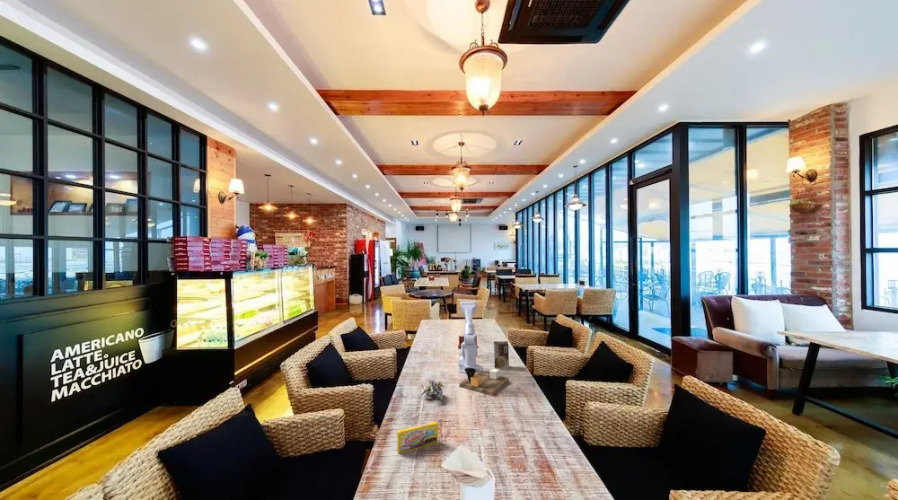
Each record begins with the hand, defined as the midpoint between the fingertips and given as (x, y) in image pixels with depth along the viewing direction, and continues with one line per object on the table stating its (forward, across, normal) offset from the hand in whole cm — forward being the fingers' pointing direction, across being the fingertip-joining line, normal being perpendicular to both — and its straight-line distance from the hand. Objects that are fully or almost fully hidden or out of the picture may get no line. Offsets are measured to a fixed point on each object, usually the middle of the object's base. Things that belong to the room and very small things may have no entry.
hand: (470, 381), depth 179 cm
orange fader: (+1, +4, 0) cm, 4 cm away
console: (+3, +4, +8) cm, 9 cm away
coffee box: (+3, +1, +35) cm, 35 cm away
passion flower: (+4, -9, -22) cm, 24 cm away
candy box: (+4, +11, -57) cm, 58 cm away
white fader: (+1, +7, +14) cm, 16 cm away
